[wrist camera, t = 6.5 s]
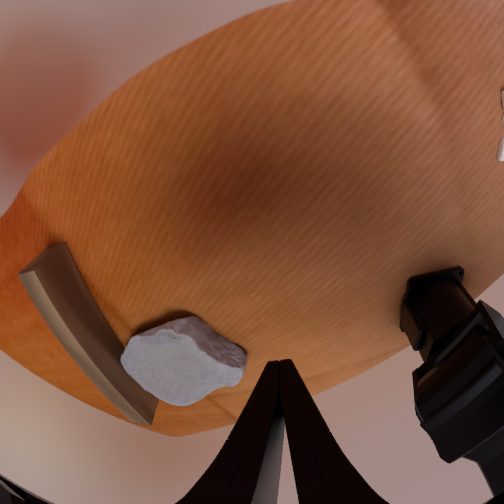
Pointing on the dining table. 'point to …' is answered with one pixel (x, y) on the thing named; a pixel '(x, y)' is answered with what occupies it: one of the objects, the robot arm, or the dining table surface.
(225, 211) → the dining table surface
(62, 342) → the board
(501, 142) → the acanthus leaf ornament
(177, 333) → the stone block
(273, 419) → the robot arm
